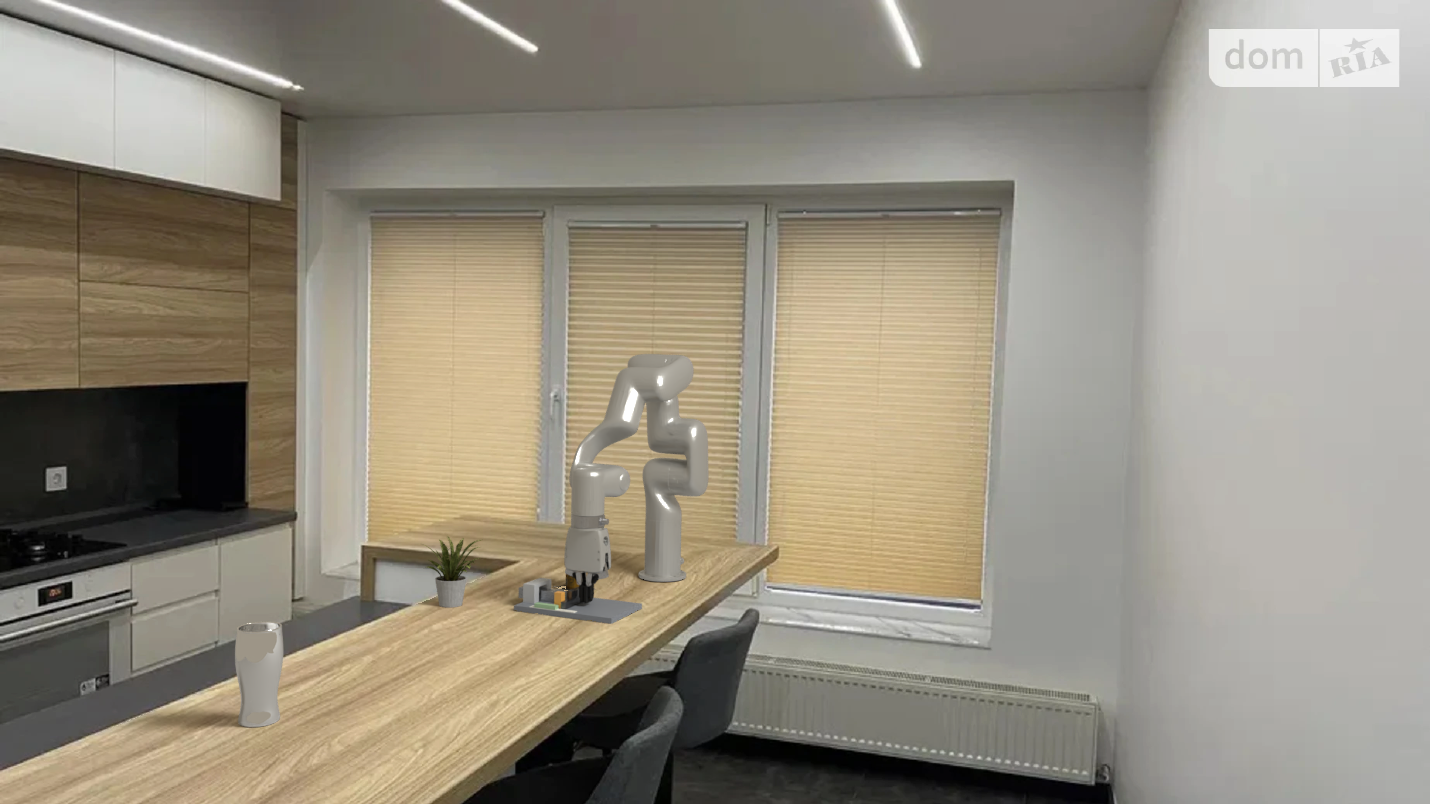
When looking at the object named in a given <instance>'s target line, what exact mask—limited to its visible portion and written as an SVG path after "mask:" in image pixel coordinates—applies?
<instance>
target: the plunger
mask: <svg viewBox="0 0 1430 804" xmlns="http://www.w3.org/2000/svg"><path fill="white" fill-rule="evenodd" d="M557 591H562V592H565V600H564V601H562V602H561V609H568V608H570V607H572V606H575V605H577V604H579V603H580V598H579V586H578V587H576V588H573V589H571V590H568V591H564V590H557V589H556V588H551V589H547V588H539V601H547V602H554V592H557ZM518 599H523V585H522V586H519V587H518Z"/></svg>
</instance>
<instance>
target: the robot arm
mask: <svg viewBox="0 0 1430 804" xmlns="http://www.w3.org/2000/svg"><path fill="white" fill-rule="evenodd" d="M694 369H695V368H694V364H693V362H692V360H691V359H690V357H688V356H685V355H682V354H659V353H643V354H635V355H633V356H631V357H630V358H629V359H628V361H627V367H625V368H623V369H621V370H620V371H619V372H618V374H617V375H616V378H615V382H614V385H613V388H612V391H611V395H610V397H609V398H610V399H609V402H608V405H607V408H606V410H605V416H604V418H603V420H602V422H600V423H599V424H598V425H597V426H595V427H594V428H593V429H592V430H591V431H590V432H588V434H587V435H586V436H585V437H584V439H582V441H581V442H580V443H579V445H578V446H577V448H576V451H575V453H574V457H573V460H572V462H571V463H572V464H571V466H570V470H569V478H568V479H569V485H570V488H571V497H570V498H571V504H570V512H571V513H570V526H569V527H568V528H567V529H568V530H567V533H566V539H565V546H564V554H563V555H564V558H563V559H564V568H565V571H564V573H565V575H566V574H568V575H570V576H573V577H574V578H575V580H576V581H577V584H578V585H579V598H580V603H583V602H584V603H589V602H591V601H592V600H593V598H595V597H594V596H595V594H594V593H595V590H594V589H595V584H596V583H597V582H598V581H599V580H604V579H607V578H609V575H610V574H609V570H610V569H611V568H612V555H611V553H612V552H611V540H610V534H609V530H608V527H605V526H609V524H610V519H609V518H606V515H605V502H606V501H605V499H606V498H619V497H621V496H622V495H624V494H626V493H627V491H628V490H629V488H630V485H631V475H630V473H629V471H628V469H626V468H624V466H622V465H621V466H620V465H618V464H607V463H606V464H605V463H596V462H595V463H594V461H595V459H596V457H597V456H598V455H599V454H600V452H602V451H603V450H605V449H606V448H607V447H609V446H611V445H614V444H616V443H619V442H621V441H623V440H625V439H628V438H630V437H632V436H634V435H636V433H637V431H638V429H639V426H640V423H641V419H642V416H643V412H644V408H645V407H646V409H645V410H646V435H647V437H646V438H647V444H648V447H649V449H650V450H651V451H652V452H655V453H657V454H658V453H659V454H667V455H668V454H669V455H683V456H685V459H683V458H673V457H671V458H670V457H657V458H656V457H655V458H652V459H649V460H648V461H647V462H646V463H645V465H643V469H642V483H643V490H644V497H645V521H644V522H645V525H644V569H642V570H640V571H639V572H638V578H639V579H641V580H643V579H644V581H650V582H655V583H657V582H658V583H663V582H664V583H665V582H666V583H667V582H679V581H682V579H683V580H684V579H686V578H687V572H686V571H685V570H681V566H682V565H683V564H684V563H685V559H684V557H683V556H682V519H683V518H682V516H683V514H682V508H681V505H680V503H679V501H678V499H677V497H676V496H680V497H681V496H683V497H700V496H702V495H703V494H705V493H706V491H707V489H708V485H709V476H710V475H709V471H710V470H709V438H708V437H709V435H708V431H707V428H706V426H705V424H704V423H703V422H702V421H701V420H699V419H695V418H687V417H686V418H685V417H681V416H680V406H679V405H680V403H679V402H680V401H679V397H678V396H679V394H681V393H682V392H684V391H685V390H686V389H687V388H688V387H689V386H690V384H691V383H692V380H693V378H694ZM586 573H587V574H586Z"/></svg>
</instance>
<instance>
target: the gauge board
mask: <svg viewBox="0 0 1430 804" xmlns="http://www.w3.org/2000/svg"><path fill="white" fill-rule="evenodd" d="M522 586H523V598H522V602H519V603H516V604H514V605H513V611H514V610H517V611H516V612H520V611H522V612H521V613H527V612H528V613H529V614H535V613H538V614H537V615H542V614H543V616H549V617H558V618H564V617H565V619H573V620H579V619H580V620H581V621H587V620H592V621H591V622H594V621H596V622H595V623H601V622H602V624H610V625H612V624H614V623H616V622H618V621H619V620H621V619H624V618H626V617H628V616H631V615H632V614H634V613H636V612H638V611H641V610H643V603H640V602H633V601H624V600H616V599H607V598H600V597H593V600H592V601H591V602H589V603H584V602H583V603H579V604H577V605H575V606H572V607H570V608H568V609H559V608H558V605H555V604H554V602H547V601H539V588H547V589H552V578H547V577H539V578H535V579H534V580H530V581H527V582H524V583H523V584H522ZM637 610H638V611H637ZM635 611H636V612H635ZM631 613H632V614H631ZM623 617H624V618H623ZM617 620H618V621H617Z"/></svg>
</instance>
